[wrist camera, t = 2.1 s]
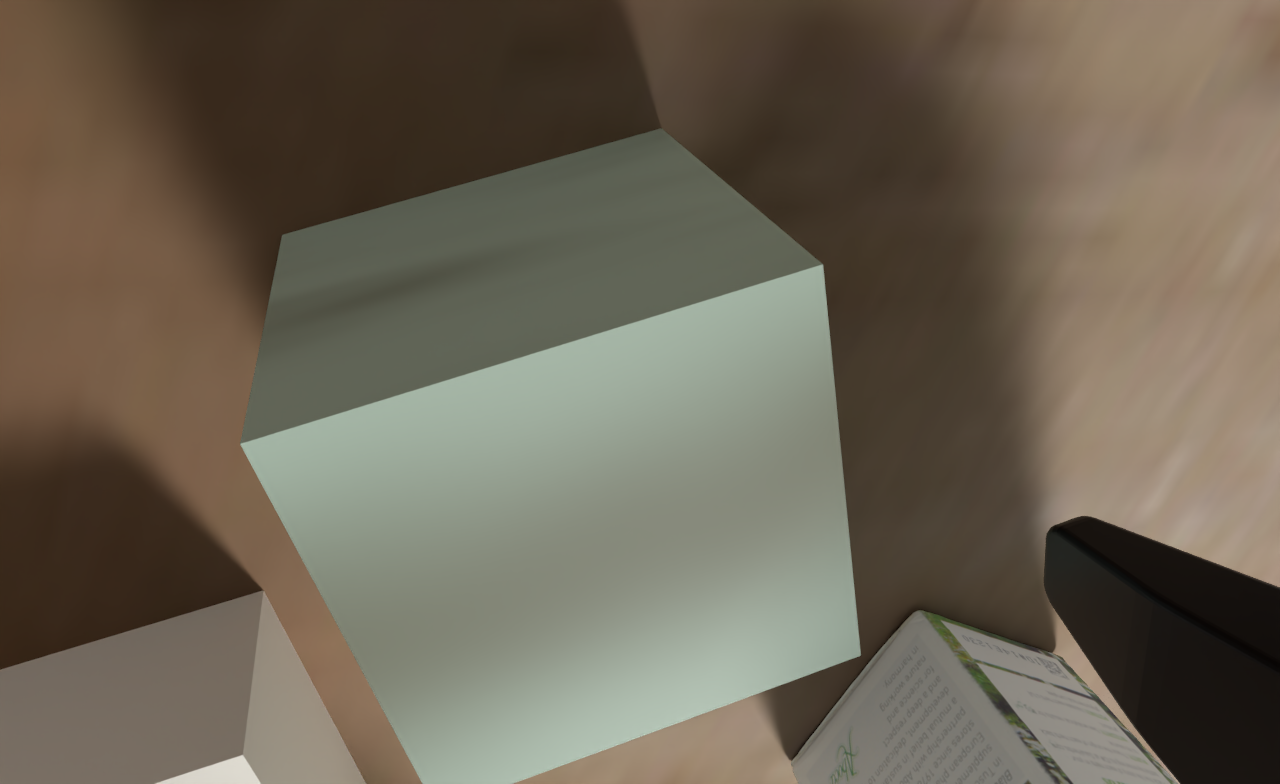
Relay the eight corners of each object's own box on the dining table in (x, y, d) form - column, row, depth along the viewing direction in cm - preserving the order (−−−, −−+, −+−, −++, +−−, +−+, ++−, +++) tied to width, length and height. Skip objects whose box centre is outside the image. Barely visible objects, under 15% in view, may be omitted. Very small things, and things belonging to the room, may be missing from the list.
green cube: (716, 431, 18) (860, 656, 13) (412, 530, 17) (437, 811, 12) (660, 126, 14) (822, 263, 9) (282, 233, 14) (240, 444, 9)
